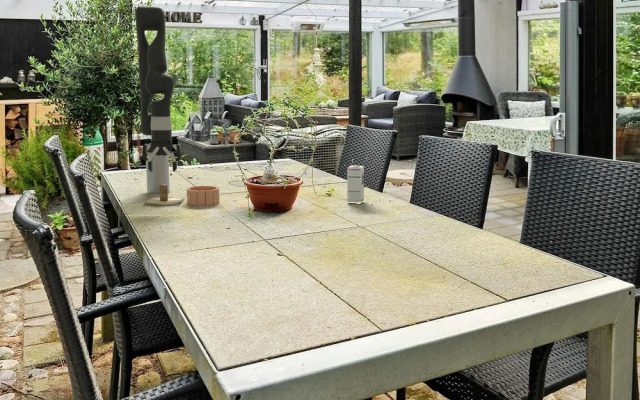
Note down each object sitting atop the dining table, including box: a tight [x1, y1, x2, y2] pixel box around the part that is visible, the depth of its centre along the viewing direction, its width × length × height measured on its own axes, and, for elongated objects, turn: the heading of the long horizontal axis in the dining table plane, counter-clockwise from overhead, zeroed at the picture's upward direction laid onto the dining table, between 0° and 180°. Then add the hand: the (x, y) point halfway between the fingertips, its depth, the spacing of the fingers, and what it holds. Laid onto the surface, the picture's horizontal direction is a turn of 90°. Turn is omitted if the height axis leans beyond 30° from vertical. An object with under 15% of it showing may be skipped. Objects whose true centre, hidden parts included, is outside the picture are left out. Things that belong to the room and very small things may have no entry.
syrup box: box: [346, 165, 365, 202], centre depth 252 cm, size 6×6×14 cm
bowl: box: [186, 185, 220, 207], centre depth 248 cm, size 12×12×6 cm
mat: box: [141, 198, 186, 207], centre depth 248 cm, size 14×14×1 cm
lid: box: [146, 184, 182, 207], centre depth 247 cm, size 13×13×7 cm
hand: (162, 171), depth 245 cm, fingers open, 8 cm apart
